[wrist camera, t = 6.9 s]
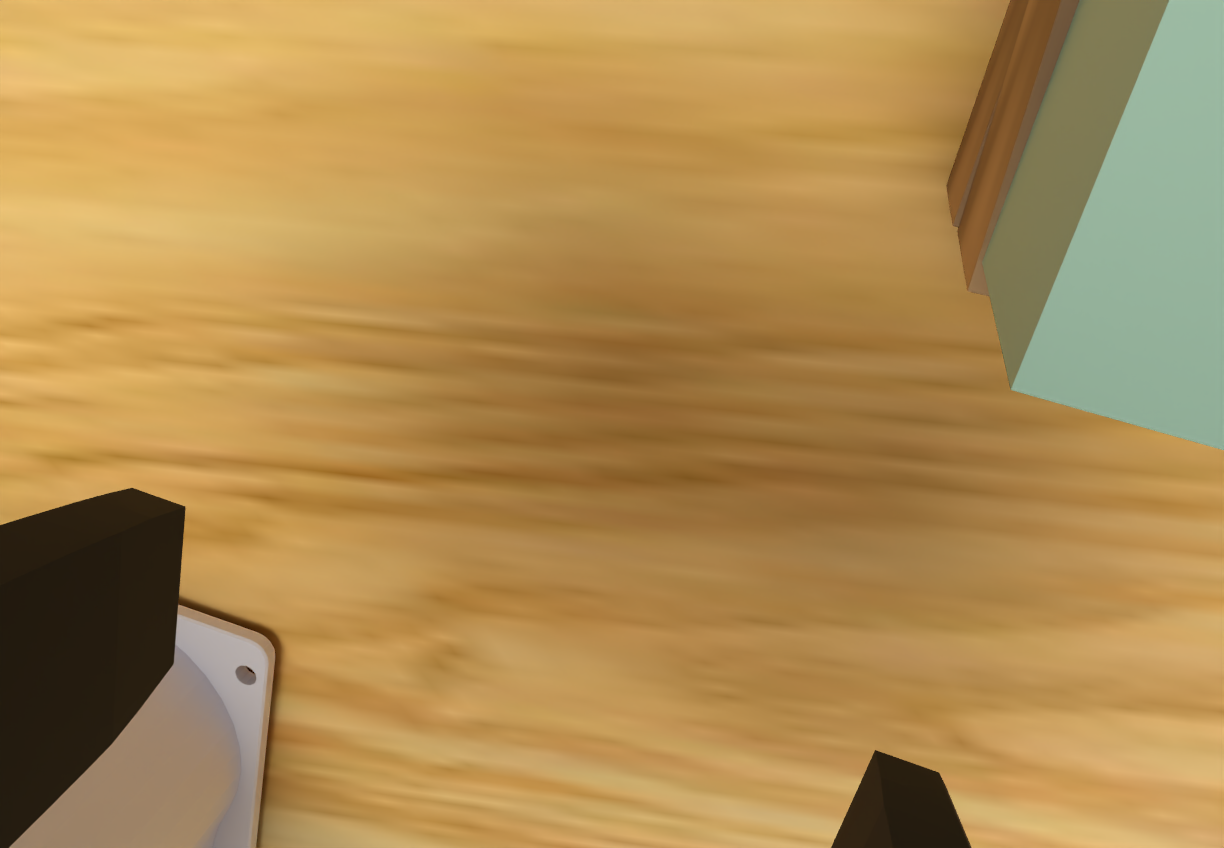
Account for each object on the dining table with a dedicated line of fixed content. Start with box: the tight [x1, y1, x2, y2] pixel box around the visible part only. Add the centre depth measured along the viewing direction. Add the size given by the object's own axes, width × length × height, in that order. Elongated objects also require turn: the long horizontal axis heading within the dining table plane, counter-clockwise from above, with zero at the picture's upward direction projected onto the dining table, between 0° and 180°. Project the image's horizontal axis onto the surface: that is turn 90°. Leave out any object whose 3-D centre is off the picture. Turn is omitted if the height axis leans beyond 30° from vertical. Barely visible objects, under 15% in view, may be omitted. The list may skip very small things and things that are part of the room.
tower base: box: [947, 0, 1029, 227], centre depth 15 cm, size 5×5×3 cm
